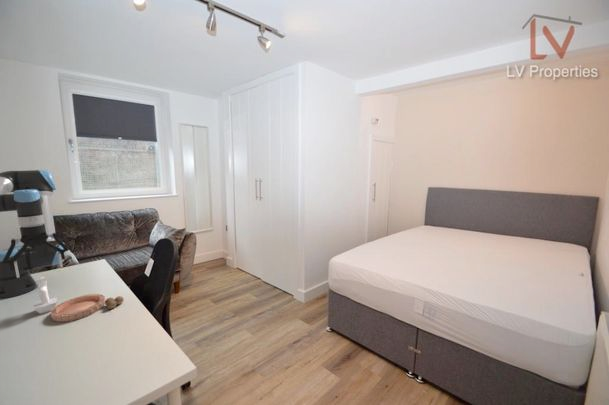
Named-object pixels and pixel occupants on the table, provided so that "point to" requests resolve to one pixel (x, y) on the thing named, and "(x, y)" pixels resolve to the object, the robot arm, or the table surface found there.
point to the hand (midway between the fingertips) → (40, 271)
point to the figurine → (44, 298)
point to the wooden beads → (113, 302)
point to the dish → (78, 307)
